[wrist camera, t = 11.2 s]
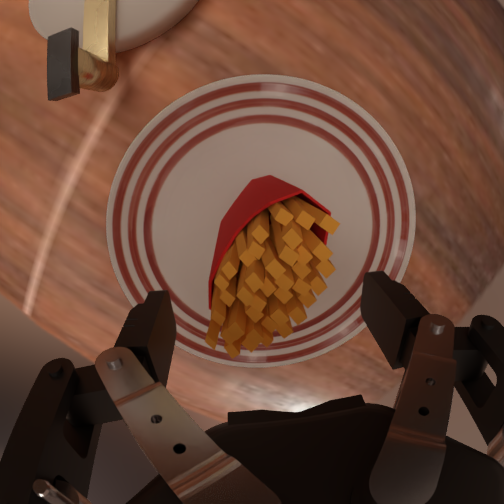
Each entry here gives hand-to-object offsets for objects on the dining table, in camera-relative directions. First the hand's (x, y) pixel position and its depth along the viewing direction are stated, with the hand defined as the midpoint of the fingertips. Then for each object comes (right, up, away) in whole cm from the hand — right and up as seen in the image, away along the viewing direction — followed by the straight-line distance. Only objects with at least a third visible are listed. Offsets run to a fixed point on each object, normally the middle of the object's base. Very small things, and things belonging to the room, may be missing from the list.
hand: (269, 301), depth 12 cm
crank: (-12, +20, +3) cm, 23 cm away
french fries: (-1, +5, +12) cm, 13 cm away
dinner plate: (0, +4, +16) cm, 16 cm away
